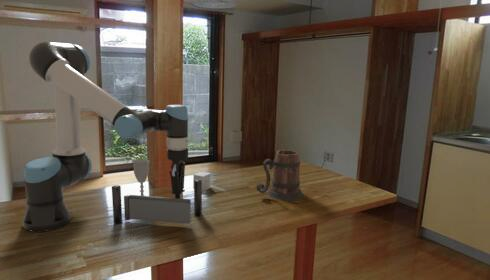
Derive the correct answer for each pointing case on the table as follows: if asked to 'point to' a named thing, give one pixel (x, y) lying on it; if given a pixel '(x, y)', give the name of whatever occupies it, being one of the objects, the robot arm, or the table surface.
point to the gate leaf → (157, 209)
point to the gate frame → (118, 209)
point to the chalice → (141, 171)
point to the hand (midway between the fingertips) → (178, 209)
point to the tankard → (283, 176)
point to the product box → (203, 179)
